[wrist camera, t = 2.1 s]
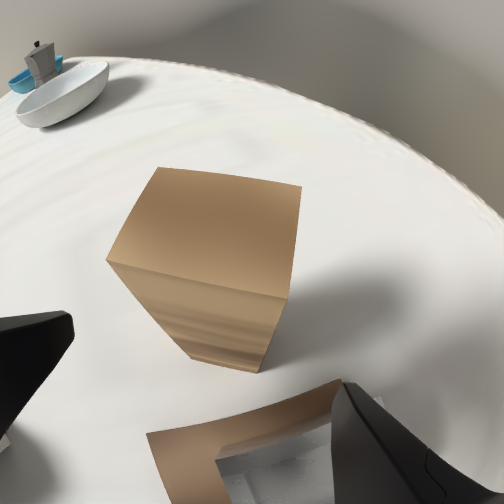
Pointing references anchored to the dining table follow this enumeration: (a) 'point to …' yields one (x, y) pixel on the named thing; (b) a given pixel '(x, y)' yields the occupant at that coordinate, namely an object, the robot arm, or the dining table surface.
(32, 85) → the casserole dish
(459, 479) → the robot arm
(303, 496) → the steel end cap
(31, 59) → the coffeepot
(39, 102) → the serving bowl
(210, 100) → the dining table surface
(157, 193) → the oak block
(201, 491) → the walnut board
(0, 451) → the grey napkin holder
